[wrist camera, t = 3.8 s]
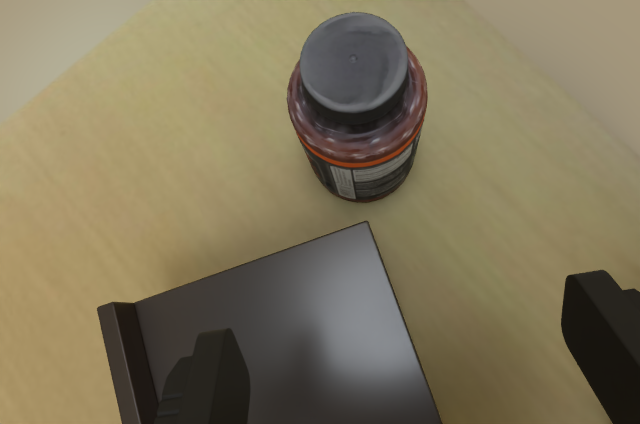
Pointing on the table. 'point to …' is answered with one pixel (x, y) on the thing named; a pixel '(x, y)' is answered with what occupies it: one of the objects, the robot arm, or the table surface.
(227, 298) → the shelf
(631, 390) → the robot arm
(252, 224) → the table surface
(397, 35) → the supplement bottle
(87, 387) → the table surface
